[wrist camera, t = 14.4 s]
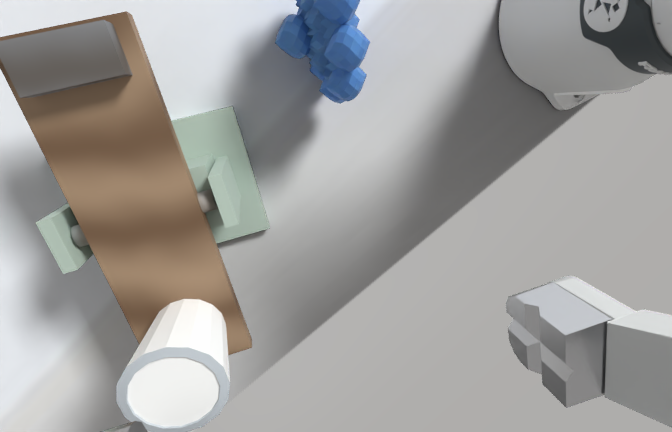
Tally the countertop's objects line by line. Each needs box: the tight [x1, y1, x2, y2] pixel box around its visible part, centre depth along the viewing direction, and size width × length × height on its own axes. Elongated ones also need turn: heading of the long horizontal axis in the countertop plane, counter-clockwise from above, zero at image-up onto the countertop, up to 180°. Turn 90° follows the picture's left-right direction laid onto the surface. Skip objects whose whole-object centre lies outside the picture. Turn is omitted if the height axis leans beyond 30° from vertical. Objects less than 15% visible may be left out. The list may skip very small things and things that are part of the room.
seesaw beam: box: [0, 12, 252, 355], centre depth 28 cm, size 26×10×4 cm, turn 15°
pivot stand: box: [36, 106, 270, 276], centre depth 32 cm, size 16×12×10 cm
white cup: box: [116, 299, 230, 432], centre depth 28 cm, size 7×7×7 cm
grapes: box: [275, 0, 370, 104], centre depth 29 cm, size 12×7×12 cm, turn 18°
